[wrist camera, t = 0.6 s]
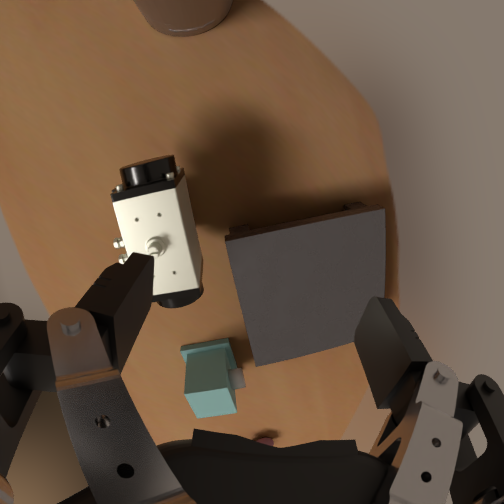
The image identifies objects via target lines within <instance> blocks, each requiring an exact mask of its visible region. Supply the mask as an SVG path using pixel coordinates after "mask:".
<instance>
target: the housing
mask: <svg viewBox="0 0 504 504" xmlns="http://www.w3.org/2000/svg"><path fill="white" fill-rule="evenodd" d="M180 352H181V354H182V356H183V358H184V361H185V363H186V375H185V390H184V395H185V397H186V398H187V400H188V402H189V404H190V406H191V408H192V409H193V411H194V413H195V415H196V417H197V418H205V417H212V416H219V415H226V414H232V413H237V407H236V397H235V389H239V388H245V387H246V386H245V379H244V375H243V371H242V368H237V364H236V361H235V358H234V355H233V352H232V348H231V345H230V342H229V339H228V338H225V339H219V340H214V341H209V342H203V343H198V344H192V345H186V346H181V350H180Z"/></svg>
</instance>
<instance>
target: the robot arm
mask: <svg viewBox="0 0 504 504" xmlns="http://www.w3.org/2000/svg"><path fill="white" fill-rule="evenodd" d="M133 1H134V2H135V4H136V5H137V7H138V8H139V10H140V11H141V13H142V14H143V16H144V17H145V19H146V20H147V21H148V23H149V24H150V25H151V26H152V27H153V28H154V29H156V30H157V31H159V32H161V33H164V34H166V35H171V36H181V37H185V36H192V35H197V34H200V33H203V32H205V31H207V30H210V29H212V28H213V27H215V26H216V25H217V24H219V23H220V22H221V21H222V20H223V19H224V18H225V17H226V15H227V14H228V12H229V10H230V8H231V5H232V0H133ZM153 281H154V256H151V255H146V254H141V253H137V252H133V253H132V254H131V255H130V256H129V257H128V259H127V260H126V261H125V263H124V264H121V263H115V264H113V265H111V266H109V267H108V268H106V269H105V270H104V271H103V272H102V274H101V275H100V276H99V278H97V280H96V281H95V282H94V284H93V285H92V286H91V287H90V288H89V290H88V291H87V292H86V293H85V295H84V296H83V297H82V298H81V300H80V301H79V302H78V304H77V305H76V306H75V307H70V308H64V309H61V310H58V311H56V312H55V313H53V314H52V315H51V316H50V318H49V319H48V321H35V320H25V319H24V316H23V312H22V310H21V308H20V307H19V306H17V305H15V304H13V303H0V375H1V373H2V372H3V373H2V375H1V376H0V504H14V503H13V502H14V495H13V490H12V487H11V485H10V483H9V482H8V480H7V479H6V476H7V473H8V470H9V467H10V464H11V462H12V459H13V457H14V454H15V451H16V449H17V446H18V444H19V441H20V439H21V437H22V434H23V432H24V429H25V427H26V425H27V422H28V420H29V418H30V416H31V414H32V411H33V409H34V407H35V405H36V402H37V401H38V399H39V396H40V394H41V392H42V391H50V392H57V394H58V397H59V401H60V405H61V409H62V412H63V416H64V419H65V422H66V426H67V429H68V432H69V435H70V438H71V441H72V444H73V447H74V450H75V452H76V455H77V458H78V460H79V463H80V466H81V468H82V471H83V473H84V476H85V478H86V480H87V483H88V485H89V486H88V487H86V488H85V489H83V490H81V491H79V492H78V493H76V494H74V495H72V496H70V497H69V498H67V499H65V500H63V501H61V502H59V503H57V504H445V503H446V499H447V496H448V492H449V490H450V494H451V498H452V501H453V504H504V395H503V393H502V391H501V389H500V388H499V386H498V384H497V383H496V382H495V381H494V380H493V379H492V378H490V377H488V376H486V375H482V374H481V375H477V376H476V377H475V379H474V380H473V381H472V383H471V384H466V383H462V382H458V378H457V376H456V374H455V373H454V371H453V370H452V369H451V368H450V367H448V366H447V365H445V364H443V363H441V362H437V361H433V360H432V359H431V357H430V355H429V354H428V352H427V350H426V348H425V347H424V345H423V343H422V342H421V340H420V339H419V337H418V335H417V333H416V332H414V331H415V330H414V328H413V327H412V325H411V323H410V322H409V321H408V320H407V319H406V318H405V317H404V316H403V315H402V314H401V313H400V311H399V310H398V308H397V307H396V305H395V304H394V302H393V301H392V300H391V299H388V298H381V297H375V296H374V297H372V298H371V299H370V300H369V302H368V304H367V306H366V309H365V311H364V313H363V315H362V317H361V319H360V321H359V323H358V325H357V328H356V330H355V334H354V343H355V346H356V349H357V352H358V354H359V357H360V360H361V363H362V365H363V368H364V371H365V374H366V377H367V380H368V383H369V385H370V388H371V391H372V394H373V397H374V400H375V403H376V406H377V409H388V408H390V409H391V413H390V414H389V415H388V416H387V418H386V420H385V422H384V425H383V426H382V429H381V431H380V433H379V435H378V437H377V439H376V441H375V443H374V445H373V447H372V449H371V451H370V452H369V454H368V453H365V452H361V451H358V450H357V446H356V441H355V440H319V441H315V442H310V443H306V444H301V445H296V446H291V447H285V448H277V447H273V446H270V445H266V444H263V443H260V442H256V441H253V440H250V439H247V438H244V437H241V436H238V435H232V434H225V433H218V432H211V431H205V430H199V429H194V431H193V437H192V439H189V440H177V441H171V442H167V443H163V444H160V445H157V446H156V445H155V443H154V441H153V439H152V437H151V436H150V434H149V432H148V430H147V428H146V427H145V425H144V423H143V421H142V419H141V417H140V415H139V413H138V411H137V409H136V407H135V405H134V403H133V401H132V399H131V397H130V395H129V393H128V391H127V389H126V386H125V384H124V382H123V380H122V378H121V375H120V374H121V372H122V370H123V367H124V365H125V363H126V360H127V358H128V356H129V354H130V351H131V349H132V347H133V345H134V342H135V340H136V338H137V336H138V334H139V331H140V329H141V327H142V325H143V323H144V321H145V319H146V316H147V314H148V312H149V310H150V307H151V303H152V298H153ZM478 423H480V425H481V427H482V430H483V432H484V434H485V437H486V439H487V448H486V450H485V452H484V453H483V454H482V455H481V456H480V457H479V458H478V459H477V456H476V454H475V451H474V448H473V446H472V443H471V441H470V438H469V436H468V433H469V432H470V431H471V430H472V429H473V428H474V427H475V426H476V425H477V424H478Z"/></svg>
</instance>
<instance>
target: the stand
mask: <svg viewBox="0 0 504 504" xmlns="http://www.w3.org/2000/svg"><path fill="white" fill-rule="evenodd" d="M344 207H345V211H341V212H336V213H331V214H326V215H321V216H316V217H311V218H306V219H301V220H296V221H292V222H287V223H282V224H277V225H272V226H267V227H263V228H258V229H253V230H249V227H248V224H246V225H242V226H237V227H232V228H229V230H230V235H226V236H225V244H226V248H227V252H228V256H229V260H230V265H231V269H232V273H233V277H234V281H235V285H236V289H237V293H238V298H239V302H240V306H241V310H242V314H243V318H244V322H245V326H246V330H247V333H248V337H249V341H250V345H251V349H252V353H253V357H254V361H255V365H256V367H257V366H262V365H267V364H271V363H276V362H280V361H284V360H288V359H293V358H297V357H301V356H305V355H308V354H312V353H316V352H320V351H324V350H327V349H331V348H334V347H338V346H341V345H345V344H348V343H351V342H354V334H355V330H356V328H357V325H358V323H359V321H360V319H361V317H362V315H363V313H364V311H365V309H366V306H367V304H368V302H369V300H370V299H371V298H372V297H374V296H375V297H381V298H384V293H385V263H386V228H385V208H383V207H381V206H379V205H378V204H377V205H372V206H366V205H365V204H363V203H361V202H356V203H351V204H345V205H344Z"/></svg>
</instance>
